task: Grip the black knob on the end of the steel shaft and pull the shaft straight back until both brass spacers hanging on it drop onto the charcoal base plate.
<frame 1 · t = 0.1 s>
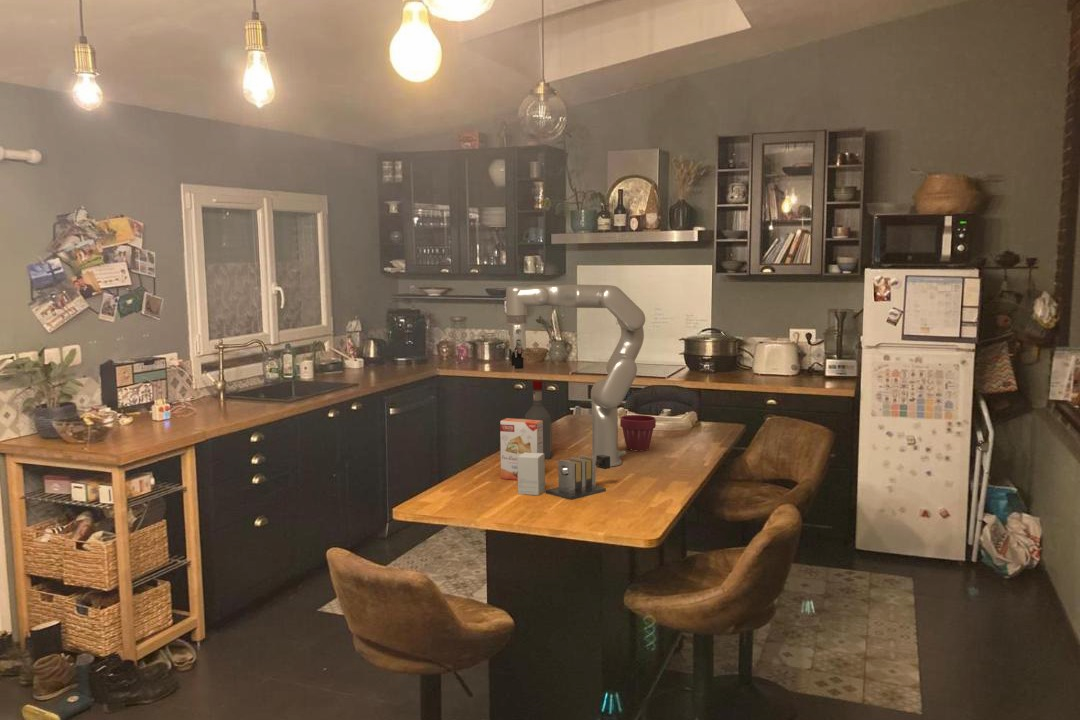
hand: (517, 367, 325), 37 cm above the table, tool pointing down, fingers open, 9 cm apart
spacer a: (582, 477, 294), point 4 cm above the table, touching shaft
supplement box: (531, 493, 293), on the table
cracker box: (522, 479, 311), on the table
shaft: (584, 466, 295), point 8 cm above the table, slide at 0.0 cm, touching spacer a, spacer b
plant pot: (637, 449, 360), on the table
spacer b: (571, 479, 291), point 4 cm above the table, touching shaft
liquor: (538, 458, 345), on the table
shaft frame: (574, 492, 292), on the table
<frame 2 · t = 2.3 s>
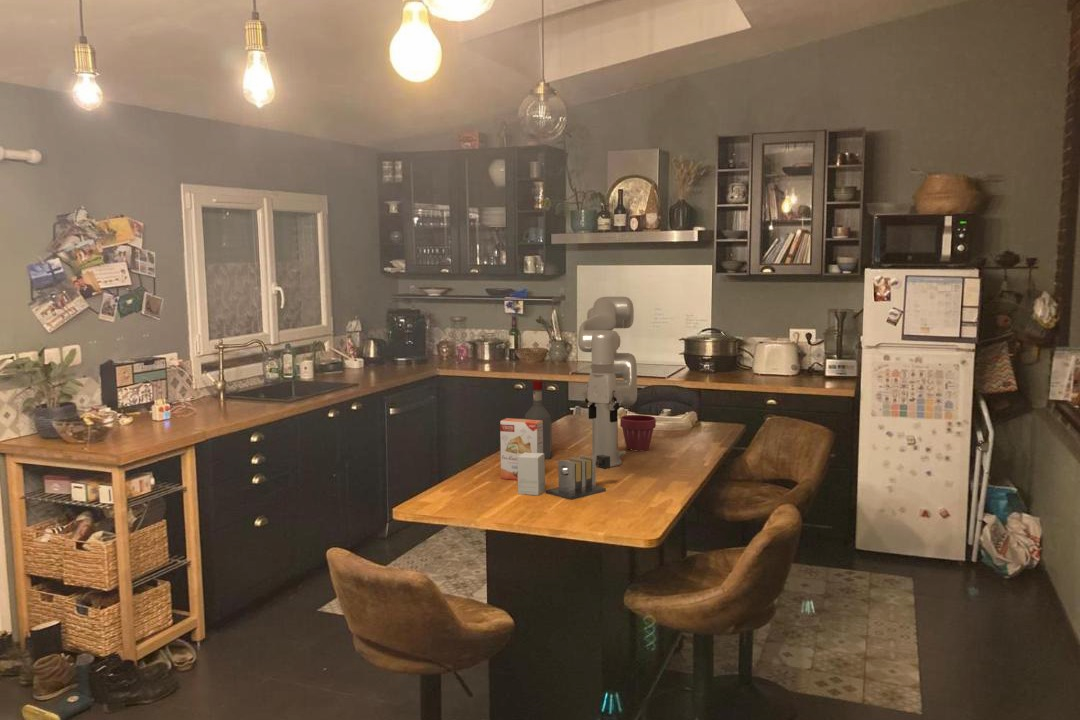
hand: (603, 420, 299), 22 cm above the table, tool pointing down, fingers open, 9 cm apart
nothing on the table moved.
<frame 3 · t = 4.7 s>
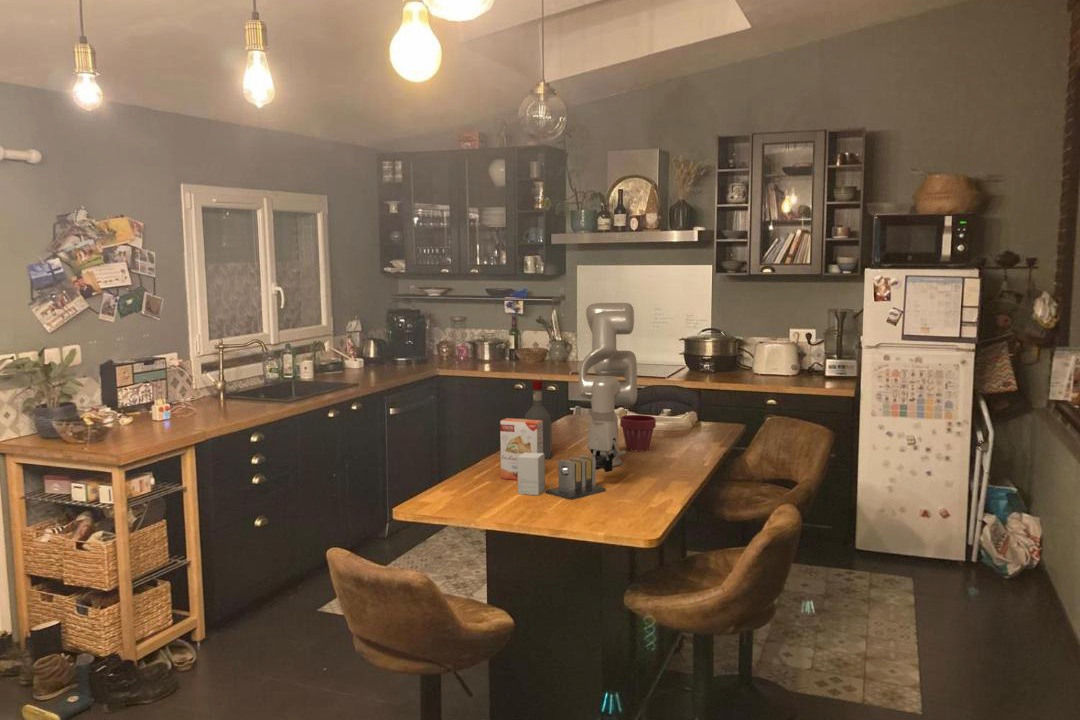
hand: (603, 469, 301), 5 cm above the table, tool pointing down, fingers closed on shaft, 4 cm apart
shaft: (584, 466, 295), point 8 cm above the table, slide at 0.0 cm, touching gripper, spacer a, spacer b
everything else where it was.
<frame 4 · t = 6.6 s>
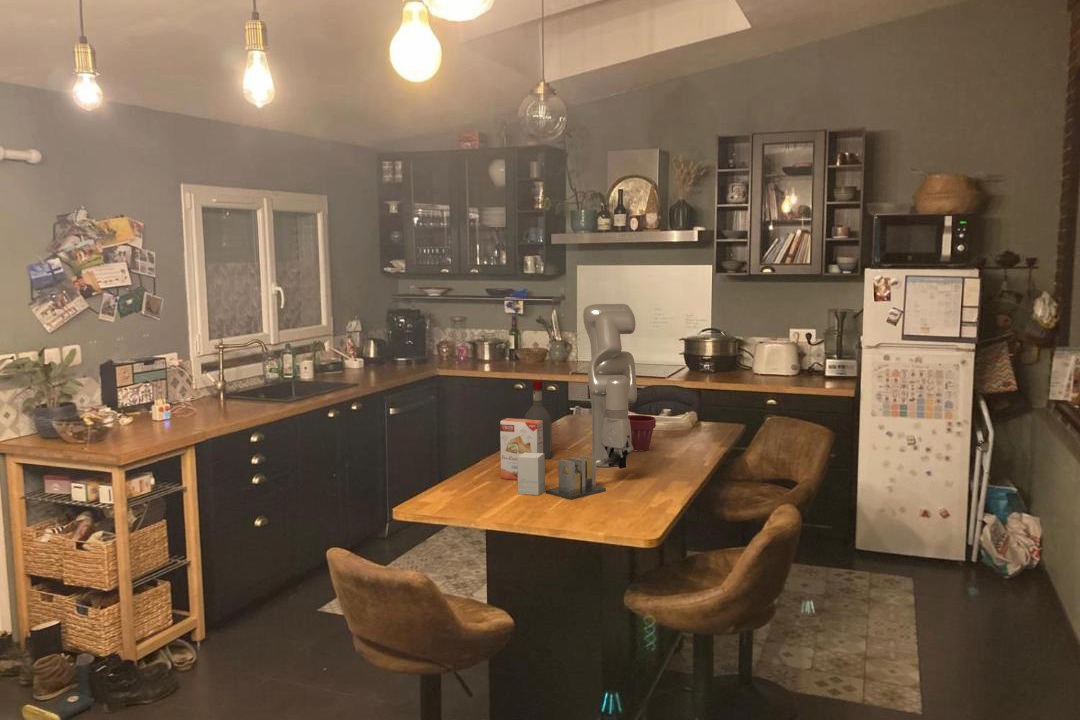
hand: (617, 466, 306), 5 cm above the table, tool pointing down, fingers closed on shaft, 4 cm apart
spacer a: (583, 477, 295), point 4 cm above the table, touching shaft, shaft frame
shaft: (599, 462, 299), point 8 cm above the table, slide at 7.0 cm, touching gripper, spacer a
spacer b: (571, 490, 291), point 1 cm above the table, touching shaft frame
everything else where it was.
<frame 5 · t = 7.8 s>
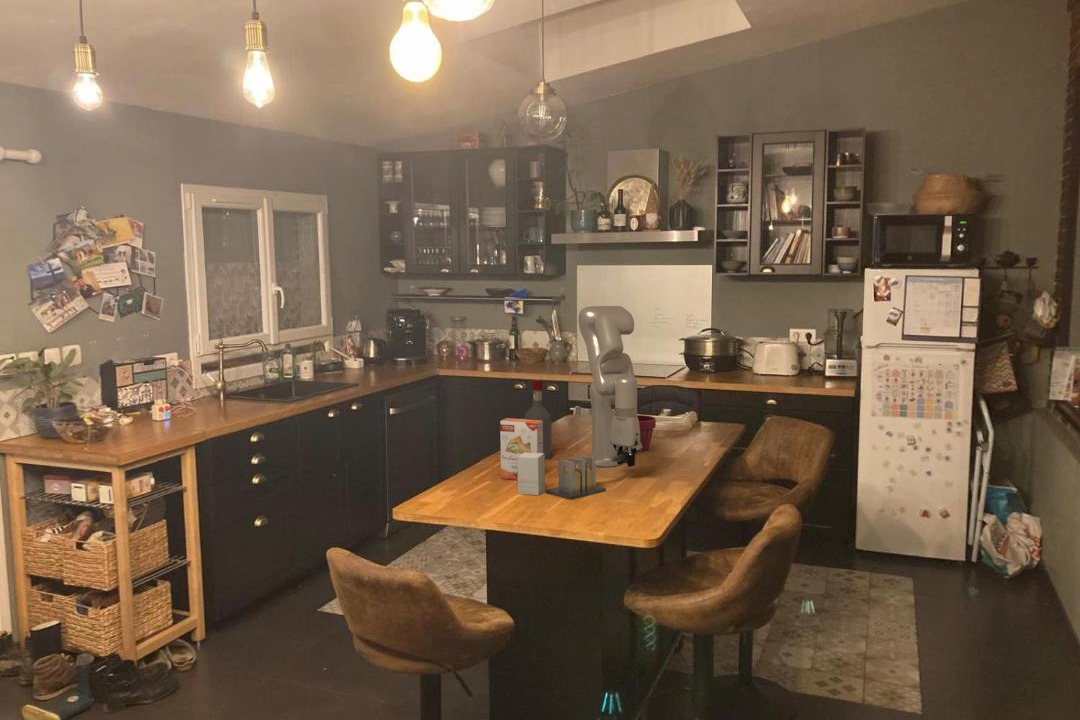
hand: (626, 464, 309), 5 cm above the table, tool pointing down, fingers closed on shaft, 4 cm apart
spacer a: (582, 487, 295), point 1 cm above the table, touching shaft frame
shaft: (608, 460, 302), point 8 cm above the table, slide at 11.5 cm, touching gripper
everything else where it was.
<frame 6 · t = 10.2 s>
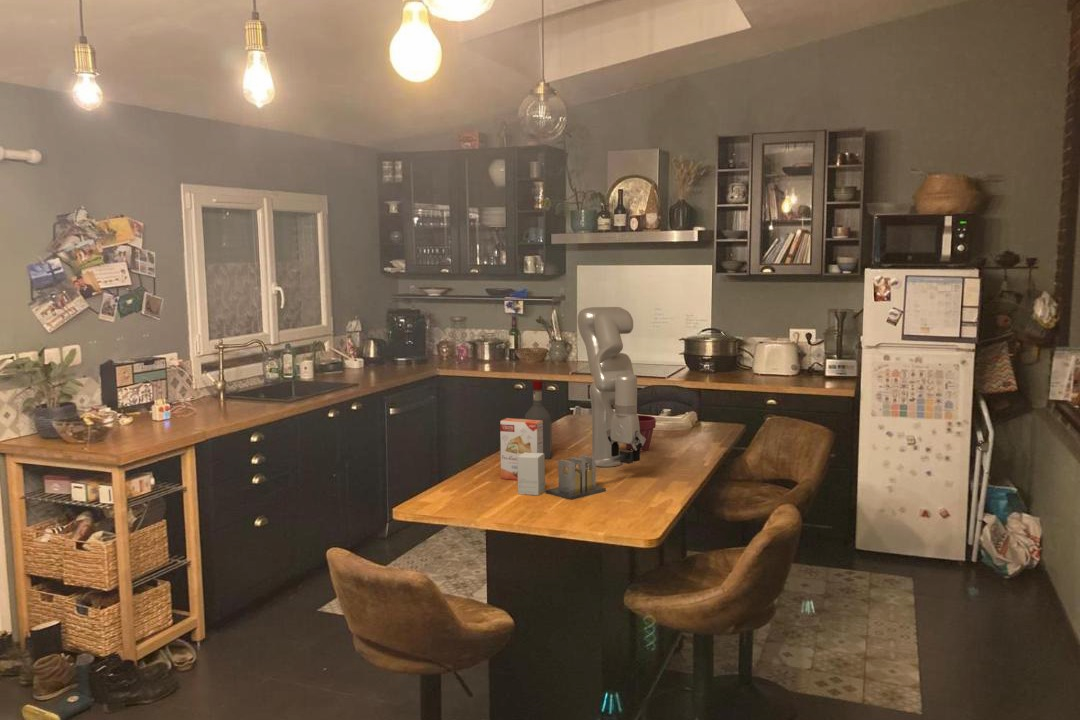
hand: (625, 458, 309), 7 cm above the table, tool pointing down, fingers open, 9 cm apart
shaft: (608, 460, 302), point 8 cm above the table, slide at 11.5 cm
everything else where it was.
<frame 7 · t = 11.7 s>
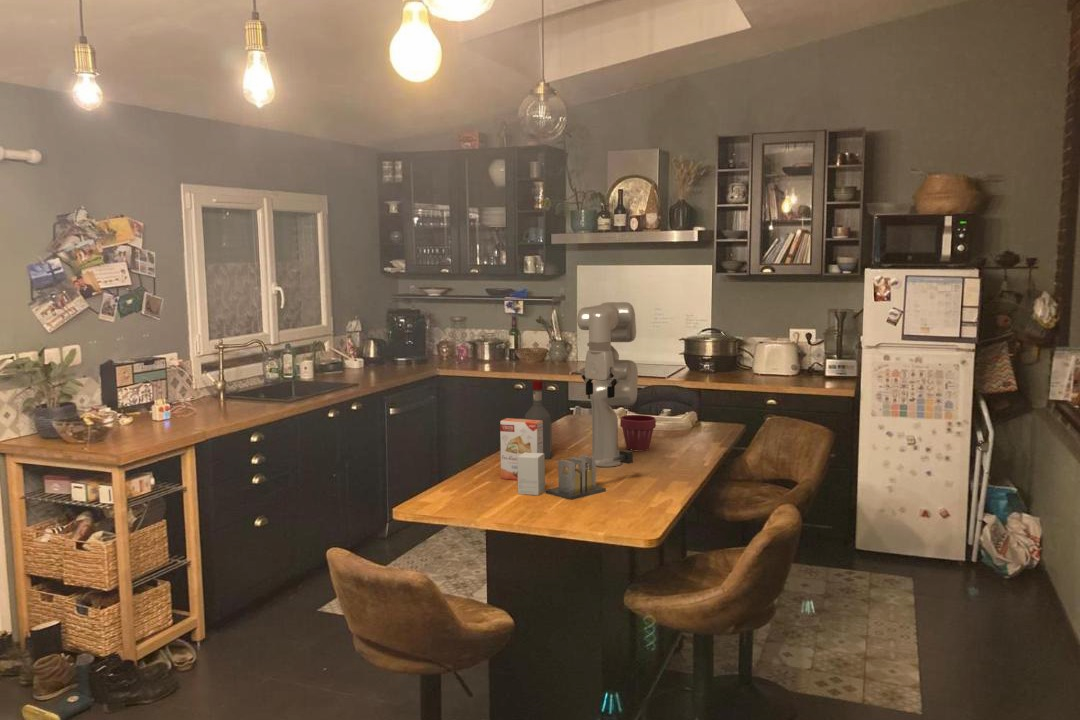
hand: (600, 395, 310), 29 cm above the table, tool pointing down, fingers open, 9 cm apart
nothing on the table moved.
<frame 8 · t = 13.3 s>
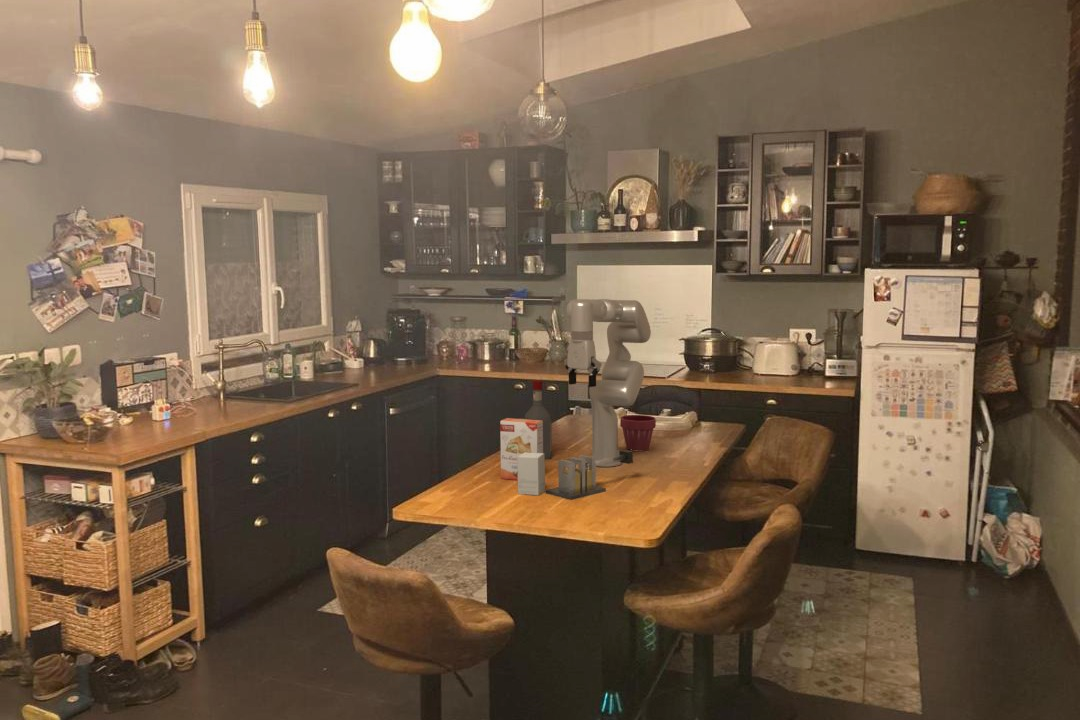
hand: (582, 385, 311), 32 cm above the table, tool pointing down, fingers open, 9 cm apart
nothing on the table moved.
at the end: shaft slide at 11.5 cm; spacer a point 1.0 cm above the table; spacer b point 1.0 cm above the table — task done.
